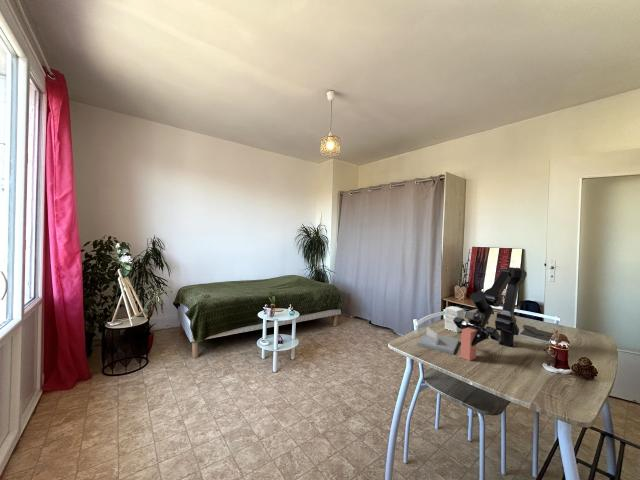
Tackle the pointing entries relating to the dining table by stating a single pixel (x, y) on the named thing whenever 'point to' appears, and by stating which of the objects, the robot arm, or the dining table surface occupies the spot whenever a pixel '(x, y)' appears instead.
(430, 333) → the bookend
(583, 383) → the dining table surface
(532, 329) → the picture frame
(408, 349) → the dining table surface
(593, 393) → the dining table surface
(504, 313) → the robot arm
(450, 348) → the shelf board
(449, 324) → the supplement box
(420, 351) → the dining table surface
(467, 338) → the boxed book
